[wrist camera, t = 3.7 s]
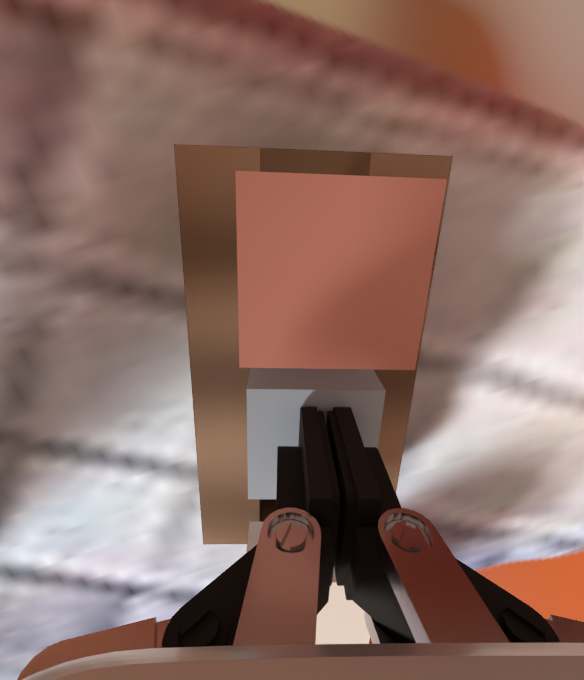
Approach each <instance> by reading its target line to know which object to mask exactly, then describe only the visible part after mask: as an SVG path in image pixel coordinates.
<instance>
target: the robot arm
mask: <svg viewBox="0 0 584 680" xmlns="http://www.w3.org/2000/svg"><path fill="white" fill-rule="evenodd" d="M333 569H335V576H336V582H337V585H338V586H344V590H345V596H346V600H353V601H354V602H355V603H356V604H357V605H358V606H359V607H360V608H362V609H363V610H364V611H365V612H364V617H365V623H366V626H367V629H368V632H369V635H370V638H371V641H372V644H315V641H316V623H317V614H318V613H319V612H320V611H321V610H322V609H323V607H324V606H325V605H326V604H327V603H328V600H329V590H330V586H331V585H332V579H333ZM17 680H584V622H581V621H577V620H572V619H568V618H563V617H559V616H555V615H550V617H549V619H548V620H547V619H544V618H543V617H542V616H541V615H540V614H539V613H538V612H536V611H535V610H534V609H533V608H531V607H530V606H529V605H527V604H525V603H524V602H522V601H521V600H519V599H518V598H516V597H515V596H513V595H512V594H510V593H508V592H507V591H505V590H504V589H502V588H501V587H499V586H498V585H496V584H494V583H493V582H491V581H490V580H488V579H486V578H485V577H483V576H482V575H480V574H479V573H477V572H476V571H474V570H473V569H471V568H470V567H468V566H466V565H465V564H463V563H462V562H460V561H459V560H457V559H456V558H455V557H454V556H453V554H452V553H451V551H450V549H449V548H448V546H447V545H446V543H445V542H444V540H443V539H442V537H441V536H440V534H439V533H438V531H437V530H436V528H435V527H434V526H433V524H432V523H431V522H430V521H429V520H428V519H426V518H425V517H424V516H423V515H421V514H419V513H417V512H415V511H413V510H409V509H405V508H401V506H400V503H399V501H398V498H397V496H396V493H395V490H394V488H393V485H392V483H391V480H390V478H389V475H388V473H387V470H386V468H385V465H384V463H383V460H382V458H381V455H380V453H379V450H378V449H377V448H376V447H364V444H363V441H362V438H361V435H360V432H359V430H358V427H357V424H356V421H355V418H354V415H353V412H352V409H351V407H334V408H333V411H328V412H327V422H325V417H324V412H323V411H318V410H317V407H300V422H299V444H298V446H278V447H277V493H276V511H275V512H273V513H271V514H270V515H269V516H268V517H267V518H266V519H265V521H264V523H263V525H262V527H261V531H260V535H259V540H258V544H257V545H256V546H255V547H253V548H252V549H251V550H250V551H249V552H247V553H246V554H245V555H244V556H243V557H241V558H240V559H239V560H238V561H237V562H235V563H234V564H233V565H232V566H231V567H229V568H228V569H227V570H226V571H225V572H223V573H222V574H221V575H220V576H218V577H217V578H216V579H215V580H214V581H212V582H211V583H210V584H209V585H208V586H206V587H205V588H204V589H203V590H202V591H200V592H199V593H198V594H197V595H196V596H194V597H193V598H192V599H191V600H190V601H188V602H187V603H186V604H185V605H184V606H182V607H181V608H180V609H179V610H178V611H177V613H176V614H175V615H174V616H173V617H172V618H171V619H168V620H164V621H160V622H157V621H156V617H155V618H151V619H147V620H143V621H139V622H135V623H131V624H127V625H123V626H119V627H115V628H111V629H107V630H103V631H99V632H95V633H91V634H87V635H83V636H79V637H75V638H71V639H67V640H63V641H60V642H58V643H56V644H53V645H51V646H48V647H47V648H46V649H44V650H43V651H42V652H40V653H39V654H38V655H36V656H35V657H34V658H33V659H32V660H31V661H30V662H29V663H28V665H27V666H26V667H25V668H24V669H23V670H22V672H21V673H20V675H19V677H18V679H17Z"/></svg>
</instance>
